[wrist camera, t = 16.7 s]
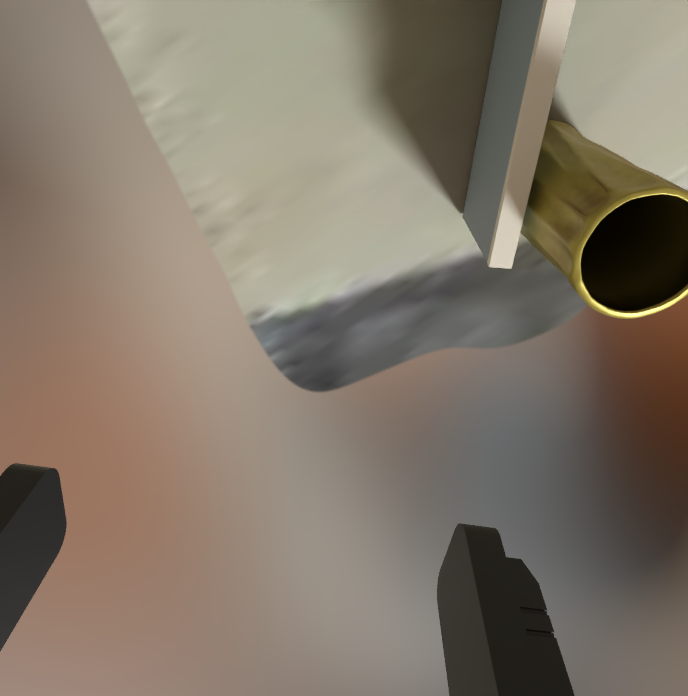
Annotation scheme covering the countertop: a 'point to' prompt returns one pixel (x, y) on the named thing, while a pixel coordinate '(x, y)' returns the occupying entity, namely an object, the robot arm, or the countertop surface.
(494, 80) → the grey flat panel
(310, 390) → the countertop surface
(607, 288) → the vase
